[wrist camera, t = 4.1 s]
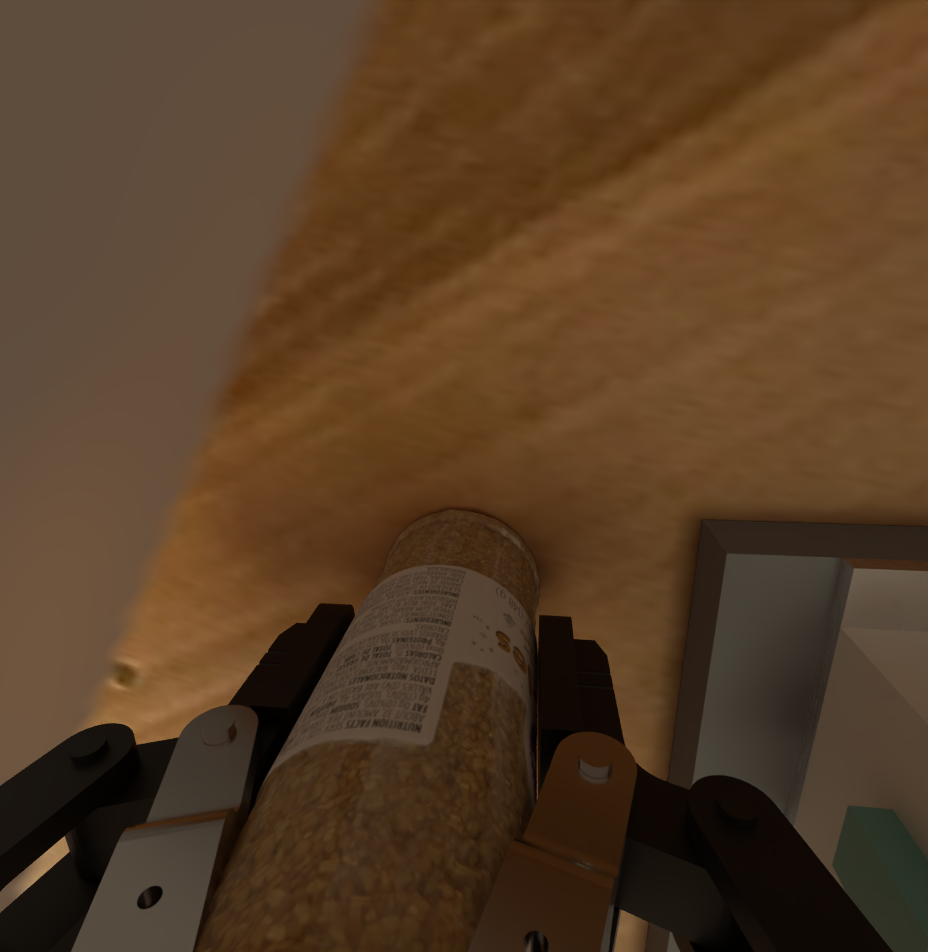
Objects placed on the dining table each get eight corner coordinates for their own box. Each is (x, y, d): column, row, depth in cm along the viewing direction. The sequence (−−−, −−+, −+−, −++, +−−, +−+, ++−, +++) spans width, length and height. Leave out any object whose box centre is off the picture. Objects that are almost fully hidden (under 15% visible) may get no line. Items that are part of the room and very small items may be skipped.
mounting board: (702, 519, 15) (726, 553, 13) (1174, 534, 14) (1277, 574, 12) (634, 1037, 22) (643, 1108, 20) (940, 1079, 21) (981, 1159, 19)
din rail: (842, 557, 13) (853, 568, 12) (1142, 569, 12) (1167, 580, 11) (716, 1119, 20) (720, 1139, 19) (900, 1147, 19) (910, 1169, 18)
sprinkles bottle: (554, 630, 16) (618, 1768, 4) (408, 651, 17) (67, 1638, 5) (521, 488, 15) (455, 1497, 3) (365, 518, 16) (-269, 1385, 3)
